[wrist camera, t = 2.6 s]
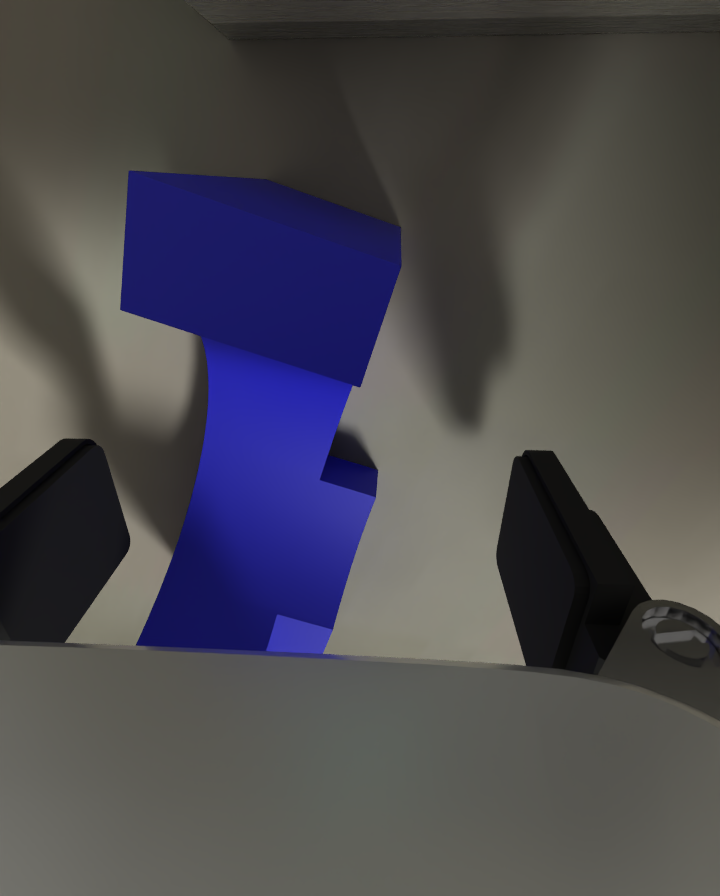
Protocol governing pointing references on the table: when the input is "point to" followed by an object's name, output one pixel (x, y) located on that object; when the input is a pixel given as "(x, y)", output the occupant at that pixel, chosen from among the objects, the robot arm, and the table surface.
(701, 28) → the grey holder tray
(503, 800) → the robot arm
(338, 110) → the table surface
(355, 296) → the blue curved block
